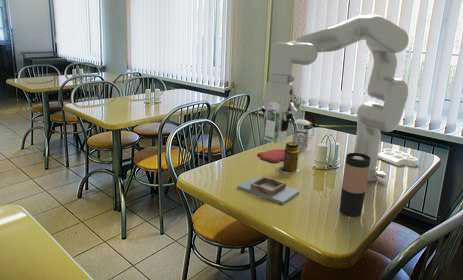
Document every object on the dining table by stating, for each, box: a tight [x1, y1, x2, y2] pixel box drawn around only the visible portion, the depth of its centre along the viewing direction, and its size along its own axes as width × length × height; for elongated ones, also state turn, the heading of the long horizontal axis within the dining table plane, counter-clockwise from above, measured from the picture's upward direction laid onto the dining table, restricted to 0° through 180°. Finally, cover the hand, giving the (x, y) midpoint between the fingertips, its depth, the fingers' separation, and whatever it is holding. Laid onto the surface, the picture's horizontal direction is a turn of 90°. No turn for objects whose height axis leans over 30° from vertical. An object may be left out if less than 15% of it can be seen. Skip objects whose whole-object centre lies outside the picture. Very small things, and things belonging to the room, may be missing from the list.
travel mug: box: [339, 152, 371, 218], centre depth 122 cm, size 8×8×20 cm
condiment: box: [275, 141, 302, 175], centre depth 158 cm, size 7×8×12 cm
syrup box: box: [263, 102, 287, 144], centre depth 132 cm, size 6×6×14 cm
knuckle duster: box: [378, 148, 419, 167], centre depth 176 cm, size 3×18×15 cm
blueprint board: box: [237, 176, 300, 205], centre depth 138 cm, size 20×12×1 cm, turn 52°
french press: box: [292, 100, 315, 152], centre depth 185 cm, size 10×12×25 cm
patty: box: [256, 149, 285, 164], centre depth 175 cm, size 18×14×2 cm
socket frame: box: [250, 176, 287, 196], centre depth 138 cm, size 10×10×2 cm
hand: (276, 128), depth 133 cm, fingers closed on syrup box, 6 cm apart
